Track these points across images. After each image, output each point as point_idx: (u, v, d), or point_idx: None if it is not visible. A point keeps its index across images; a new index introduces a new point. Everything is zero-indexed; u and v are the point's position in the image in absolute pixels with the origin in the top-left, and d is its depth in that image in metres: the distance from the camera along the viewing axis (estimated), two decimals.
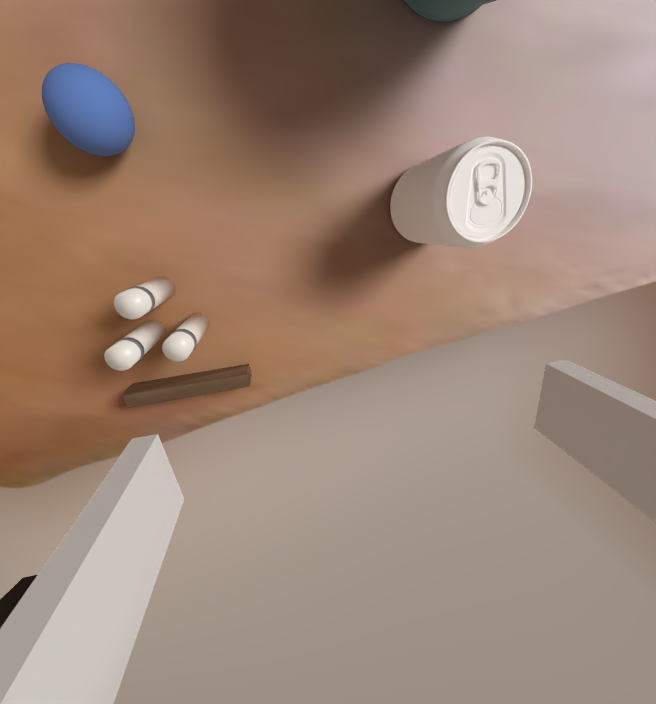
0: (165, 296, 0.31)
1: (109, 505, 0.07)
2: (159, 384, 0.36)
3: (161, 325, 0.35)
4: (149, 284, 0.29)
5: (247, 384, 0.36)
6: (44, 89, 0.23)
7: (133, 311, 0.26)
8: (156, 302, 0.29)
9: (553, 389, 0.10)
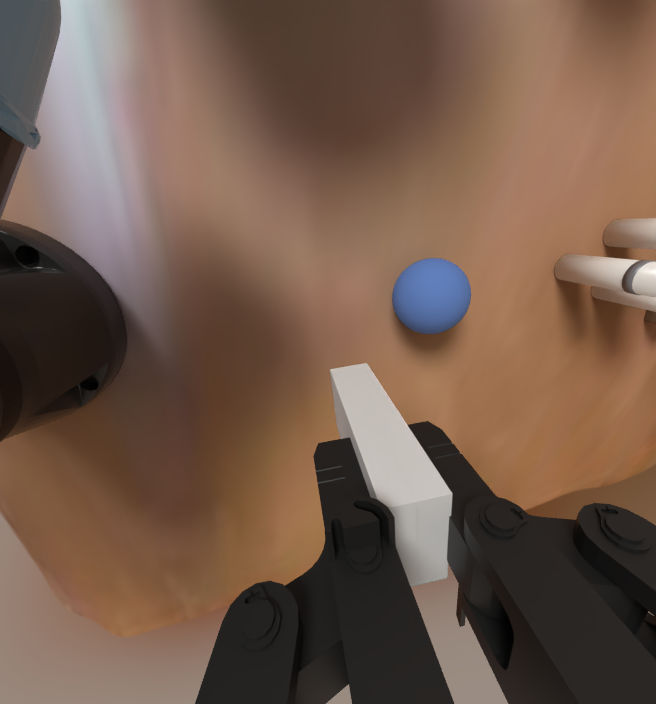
0: None
1: (360, 400, 0.10)
2: None
3: None
4: (605, 268, 0.24)
5: None
6: (431, 327, 0.23)
7: None
8: None
9: None
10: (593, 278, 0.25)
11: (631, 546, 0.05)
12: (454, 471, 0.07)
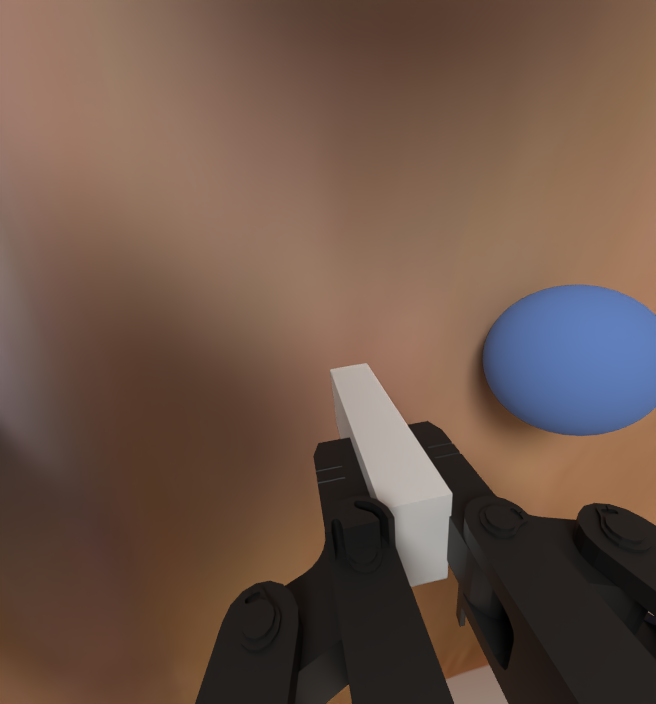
0: None
1: (360, 400, 0.10)
2: None
3: None
4: None
5: None
6: (586, 432, 0.11)
7: None
8: None
9: None
10: None
11: (631, 546, 0.05)
12: (454, 471, 0.07)
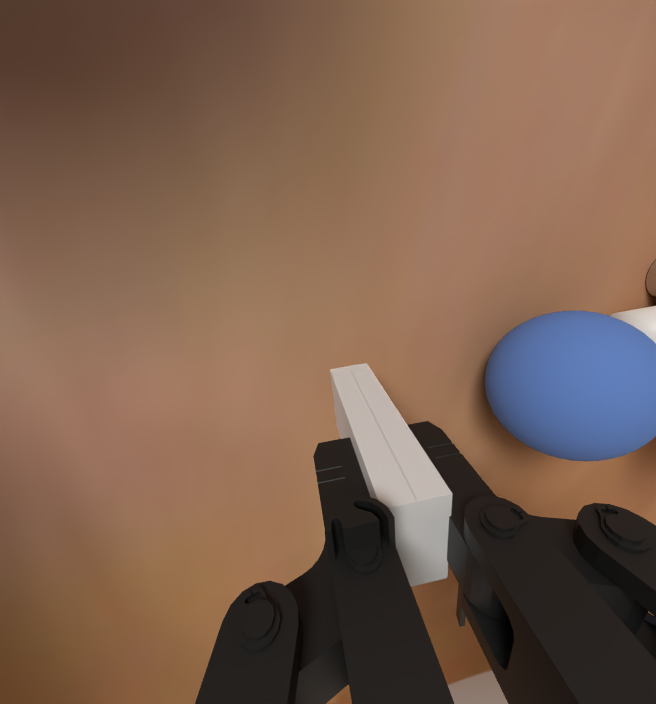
0: None
1: (360, 400, 0.10)
2: None
3: None
4: None
5: None
6: None
7: None
8: None
9: None
10: None
11: (632, 546, 0.05)
12: (454, 471, 0.07)
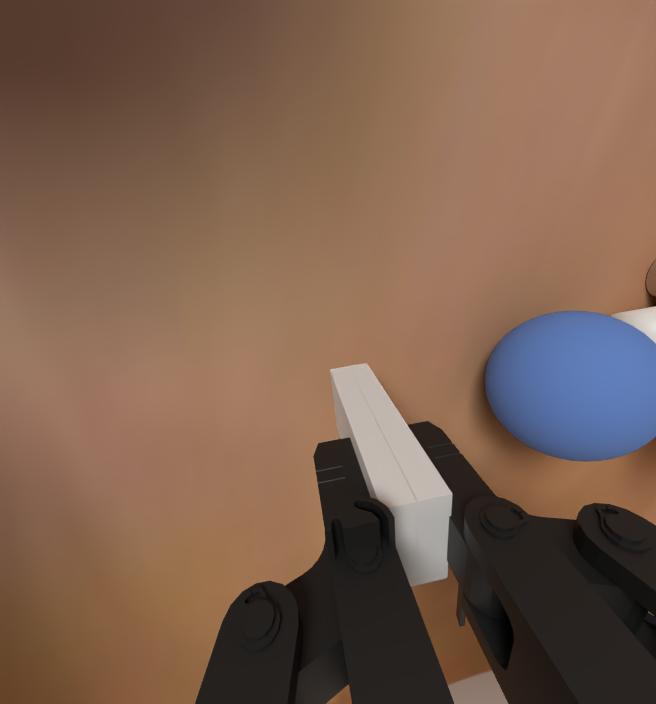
0: None
1: (360, 400, 0.10)
2: None
3: None
4: None
5: None
6: None
7: None
8: None
9: None
10: None
11: (631, 546, 0.05)
12: (454, 471, 0.07)
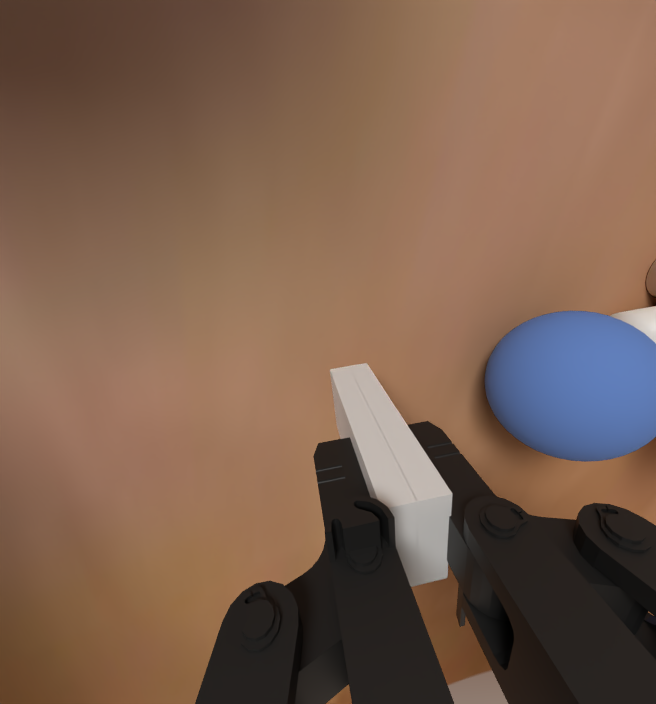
0: None
1: (360, 400, 0.10)
2: None
3: None
4: None
5: None
6: None
7: None
8: None
9: None
10: None
11: (631, 546, 0.05)
12: (454, 471, 0.07)
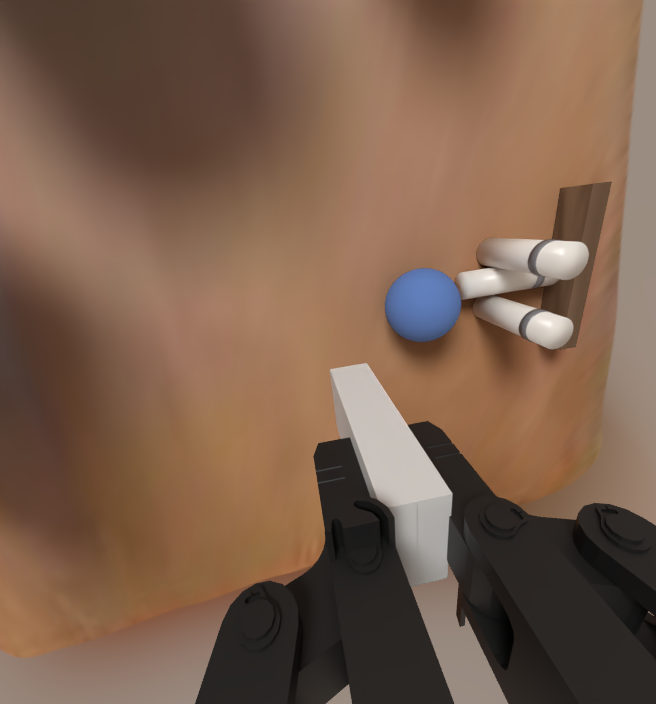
0: None
1: (360, 400, 0.10)
2: (554, 309, 0.29)
3: None
4: (519, 272, 0.26)
5: (607, 184, 0.24)
6: None
7: None
8: None
9: None
10: (511, 284, 0.27)
11: (631, 546, 0.05)
12: (454, 471, 0.07)
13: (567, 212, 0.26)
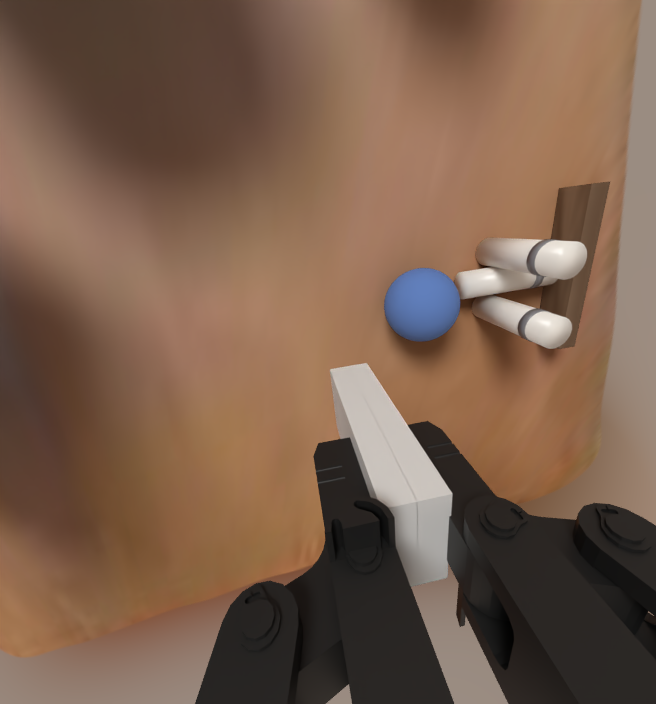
0: None
1: (360, 400, 0.10)
2: (553, 309, 0.29)
3: None
4: (518, 272, 0.26)
5: (606, 184, 0.24)
6: None
7: None
8: None
9: None
10: (510, 283, 0.27)
11: (631, 546, 0.05)
12: (454, 471, 0.07)
13: (566, 212, 0.26)
